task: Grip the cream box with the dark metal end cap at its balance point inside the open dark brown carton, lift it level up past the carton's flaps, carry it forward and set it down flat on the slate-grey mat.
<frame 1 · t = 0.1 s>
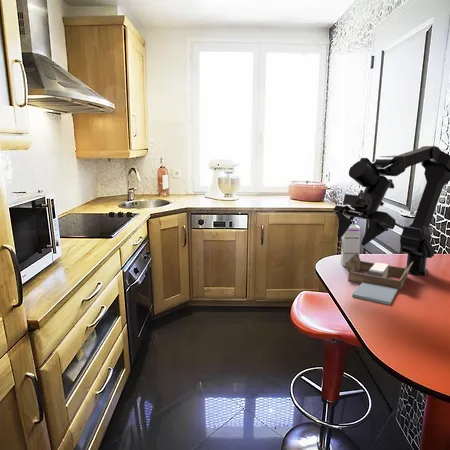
hand: (350, 241, 101), 15 cm above the table, tool tilted 30°, fingers open, 9 cm apart
mat: (375, 293, 99), on the table
carton: (378, 278, 111), on the table
syrup box: (349, 264, 126), on the table
cream box: (378, 278, 111), resting in carton
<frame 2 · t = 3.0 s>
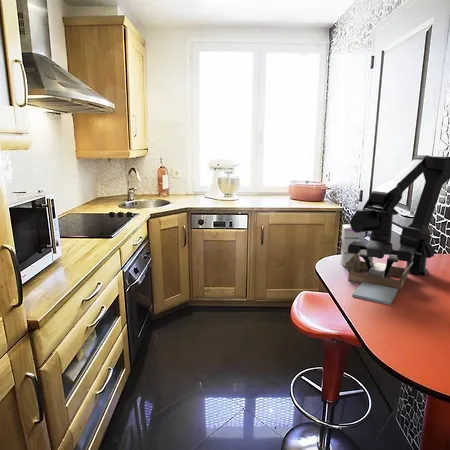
hand: (377, 276, 110), 1 cm above the table, tool pointing down, fingers closed on cream box, 4 cm apart
cream box: (378, 278, 111), resting in carton, touching gripper
everything else where it was.
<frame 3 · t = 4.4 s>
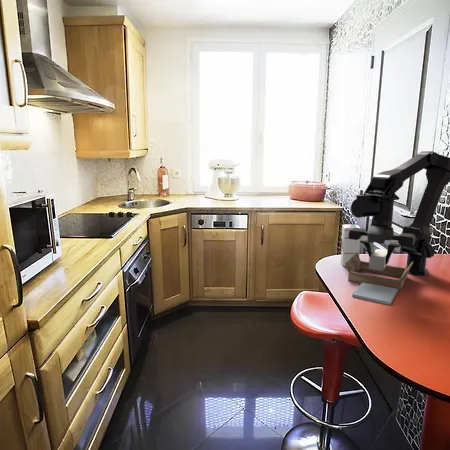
hand: (378, 262, 109), 6 cm above the table, tool pointing down, fingers closed on cream box, 4 cm apart
cream box: (379, 264, 110), point 5 cm above the table, touching gripper
everything else where it was.
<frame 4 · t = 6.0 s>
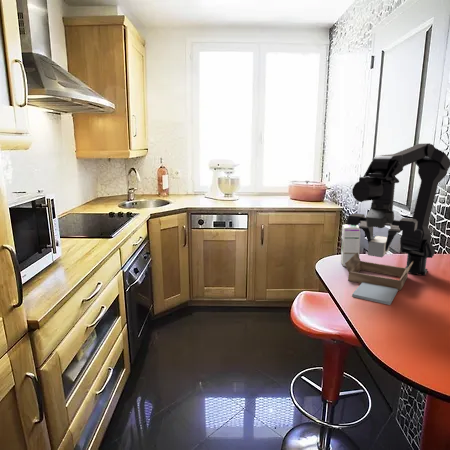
hand: (378, 249, 104), 11 cm above the table, tool pointing down, fingers closed on cream box, 4 cm apart
cream box: (379, 251, 105), point 10 cm above the table, touching gripper
everything else where it was.
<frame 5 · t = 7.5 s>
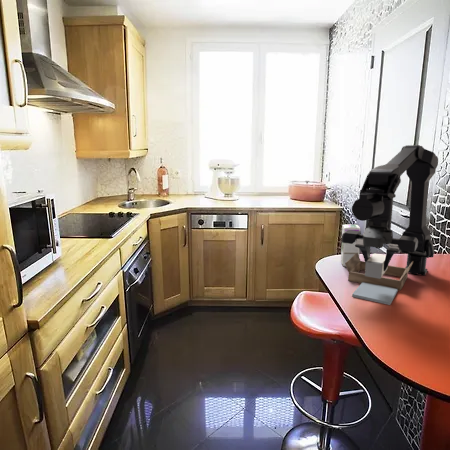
hand: (376, 269, 97), 8 cm above the table, tool pointing down, fingers closed on cream box, 4 cm apart
cream box: (377, 271, 98), point 7 cm above the table, touching gripper
everything else where it was.
when the fingers open (3 cm above the table, at t = 9.0 s): cream box drops 1 cm, resting on mat.
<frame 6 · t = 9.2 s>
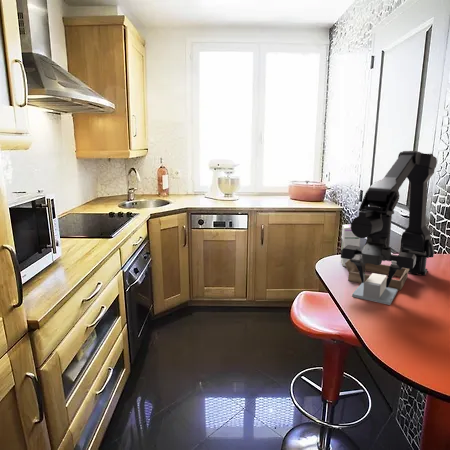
hand: (374, 284, 98), 3 cm above the table, tool pointing down, fingers open, 6 cm apart
cream box: (375, 291, 99), point 1 cm above the table, touching mat
everything else where it was.
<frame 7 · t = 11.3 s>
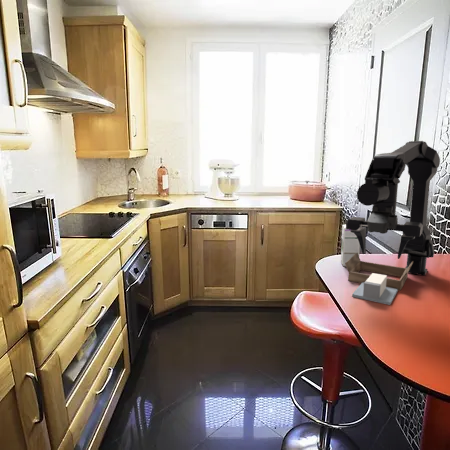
hand: (380, 255, 96), 12 cm above the table, tool pointing down, fingers open, 9 cm apart
nothing on the table moved.
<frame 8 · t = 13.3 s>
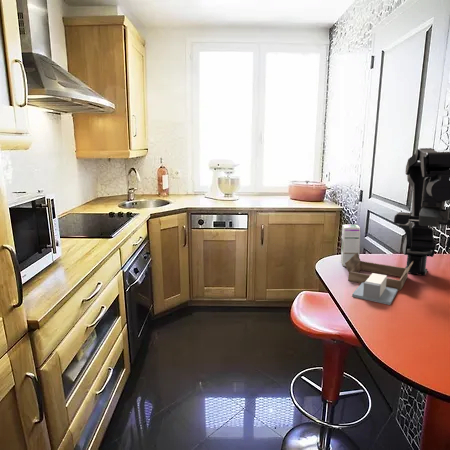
hand: (428, 249, 101), 12 cm above the table, tool pointing down, fingers open, 9 cm apart
nothing on the table moved.
at the end: cream box 0.1 cm off-centre on the mat, point 0.8 cm above the mat's base; cream box tilted 0°; the gripper is holding nothing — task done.
